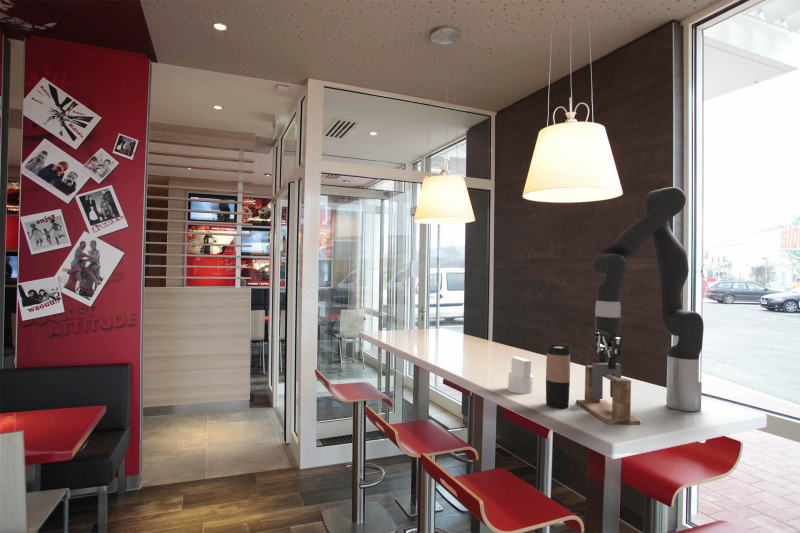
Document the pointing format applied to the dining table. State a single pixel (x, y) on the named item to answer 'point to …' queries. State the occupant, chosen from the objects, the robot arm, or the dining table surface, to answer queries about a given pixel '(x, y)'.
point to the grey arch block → (597, 378)
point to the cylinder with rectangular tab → (520, 376)
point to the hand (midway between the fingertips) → (606, 366)
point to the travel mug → (557, 376)
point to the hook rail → (603, 409)
